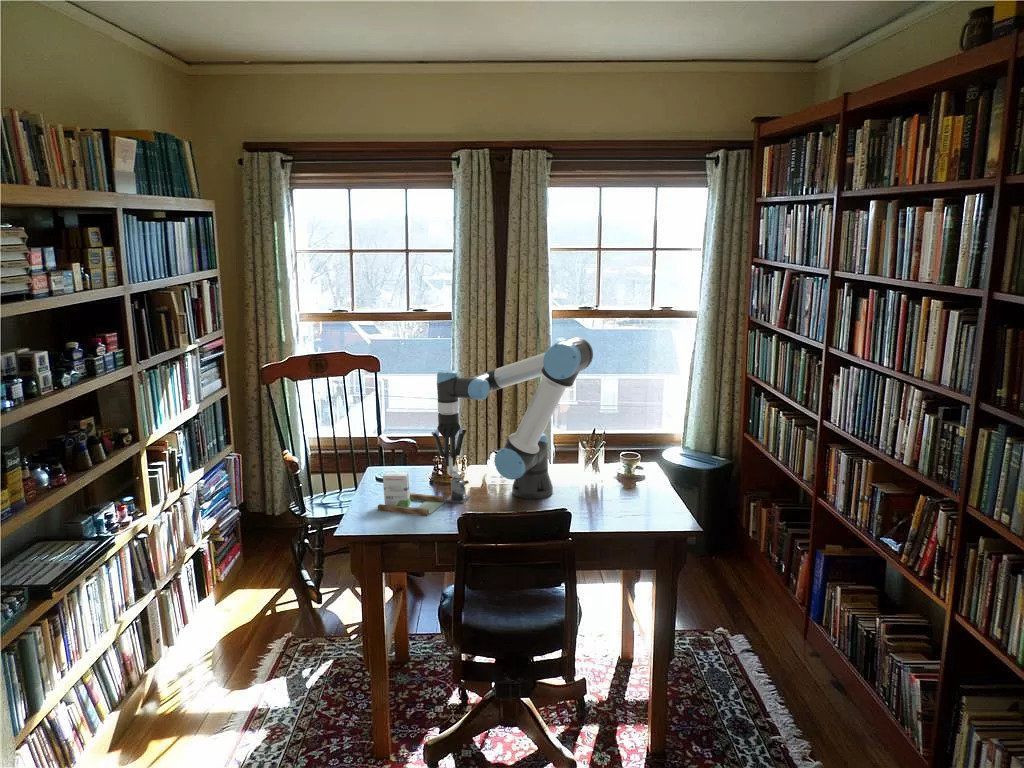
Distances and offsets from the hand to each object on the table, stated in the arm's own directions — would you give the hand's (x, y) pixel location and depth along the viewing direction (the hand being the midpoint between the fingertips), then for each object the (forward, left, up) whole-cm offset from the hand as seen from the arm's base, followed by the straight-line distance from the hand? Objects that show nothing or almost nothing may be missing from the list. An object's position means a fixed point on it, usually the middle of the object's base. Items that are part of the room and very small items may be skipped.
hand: (450, 474), depth 285 cm
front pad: (+2, +16, -8) cm, 18 cm away
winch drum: (-5, +5, -8) cm, 10 cm away
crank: (-2, -1, 0) cm, 2 cm away
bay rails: (+9, +16, -8) cm, 20 cm away
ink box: (+14, +16, -8) cm, 23 cm away
